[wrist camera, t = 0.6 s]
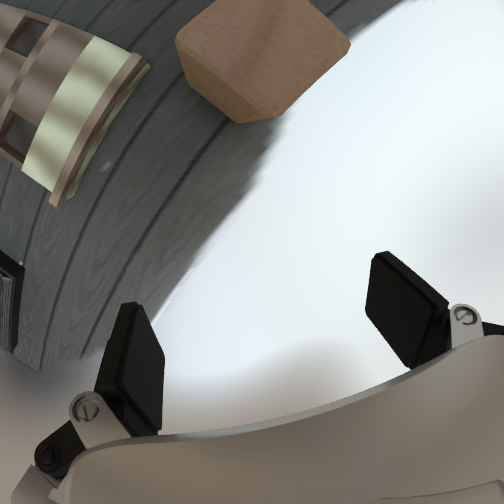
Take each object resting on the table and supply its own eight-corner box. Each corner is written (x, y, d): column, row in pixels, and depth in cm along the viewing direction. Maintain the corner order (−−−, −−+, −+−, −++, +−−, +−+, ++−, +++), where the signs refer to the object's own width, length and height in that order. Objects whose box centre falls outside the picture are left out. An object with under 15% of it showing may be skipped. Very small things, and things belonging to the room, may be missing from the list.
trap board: (6, 6, 13) (-9, -1, 7) (151, 67, 28) (142, 56, 23) (-46, 107, 18) (-64, 110, 13) (73, 195, 34) (56, 207, 29)
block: (285, 79, 33) (360, 45, 15) (238, 126, 35) (276, 123, 17) (234, 36, 28) (265, -36, 11) (184, 83, 31) (166, 36, 13)
